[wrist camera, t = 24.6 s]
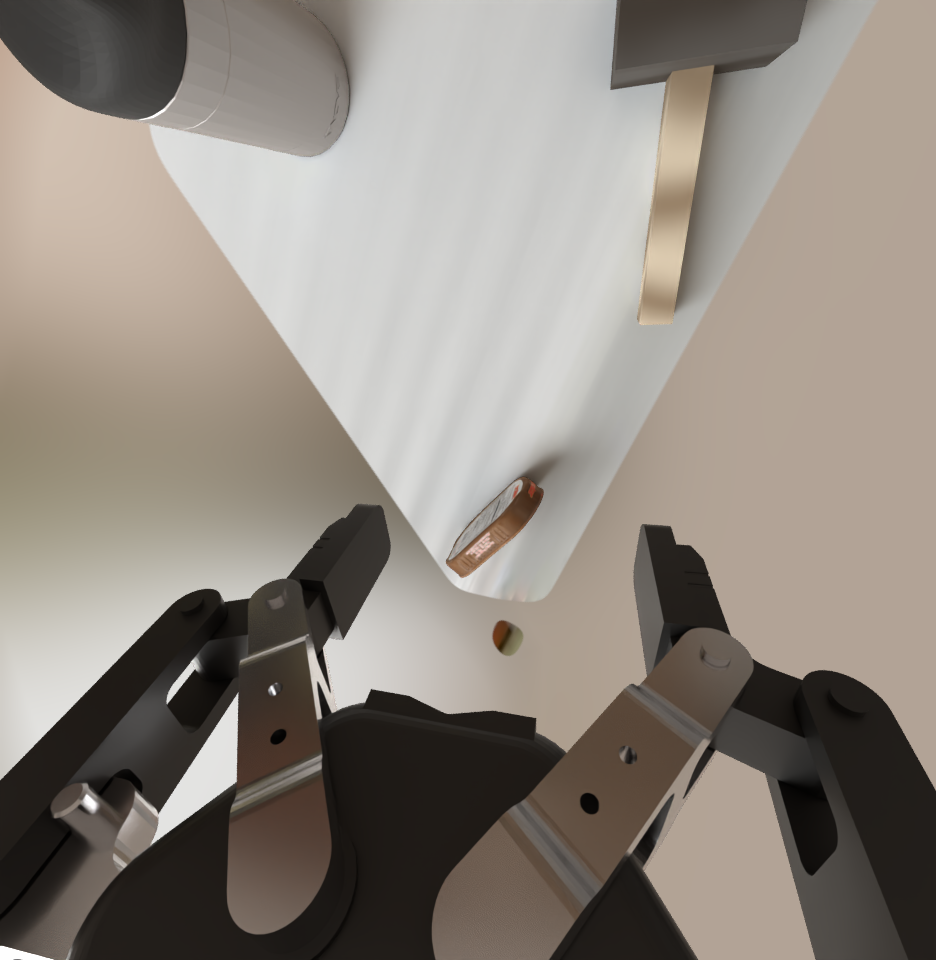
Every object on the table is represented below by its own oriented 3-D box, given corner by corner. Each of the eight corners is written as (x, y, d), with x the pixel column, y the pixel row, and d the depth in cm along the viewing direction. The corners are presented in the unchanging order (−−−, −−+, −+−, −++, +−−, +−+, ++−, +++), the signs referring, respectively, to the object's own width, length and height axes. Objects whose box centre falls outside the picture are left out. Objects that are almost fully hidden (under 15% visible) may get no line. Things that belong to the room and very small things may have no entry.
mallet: (713, 316, 37) (730, 329, 33) (593, 320, 39) (595, 332, 35) (789, -44, 26) (828, -94, 22) (617, -10, 28) (624, -49, 24)
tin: (471, 546, 57) (455, 593, 50) (452, 532, 56) (434, 577, 49) (548, 477, 49) (543, 520, 42) (527, 460, 48) (518, 501, 41)
